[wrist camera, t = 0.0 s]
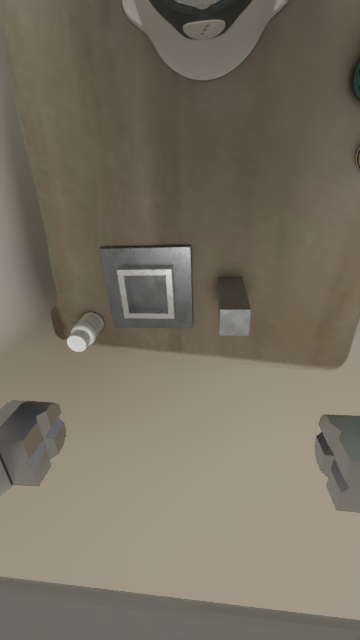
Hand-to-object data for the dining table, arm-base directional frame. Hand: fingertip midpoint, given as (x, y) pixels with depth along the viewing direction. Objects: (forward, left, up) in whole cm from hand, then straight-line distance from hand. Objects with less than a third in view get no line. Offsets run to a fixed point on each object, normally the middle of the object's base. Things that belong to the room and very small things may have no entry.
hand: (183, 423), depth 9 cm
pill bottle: (+19, -22, -39) cm, 49 cm away
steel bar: (+12, +4, -39) cm, 41 cm away
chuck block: (+12, -10, -39) cm, 42 cm away
